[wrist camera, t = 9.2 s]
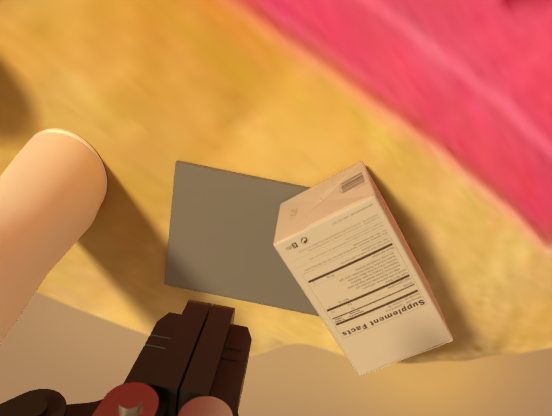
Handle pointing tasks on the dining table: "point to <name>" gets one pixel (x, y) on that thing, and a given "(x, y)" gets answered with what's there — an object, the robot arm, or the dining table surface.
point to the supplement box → (359, 271)
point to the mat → (230, 237)
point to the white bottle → (44, 212)
